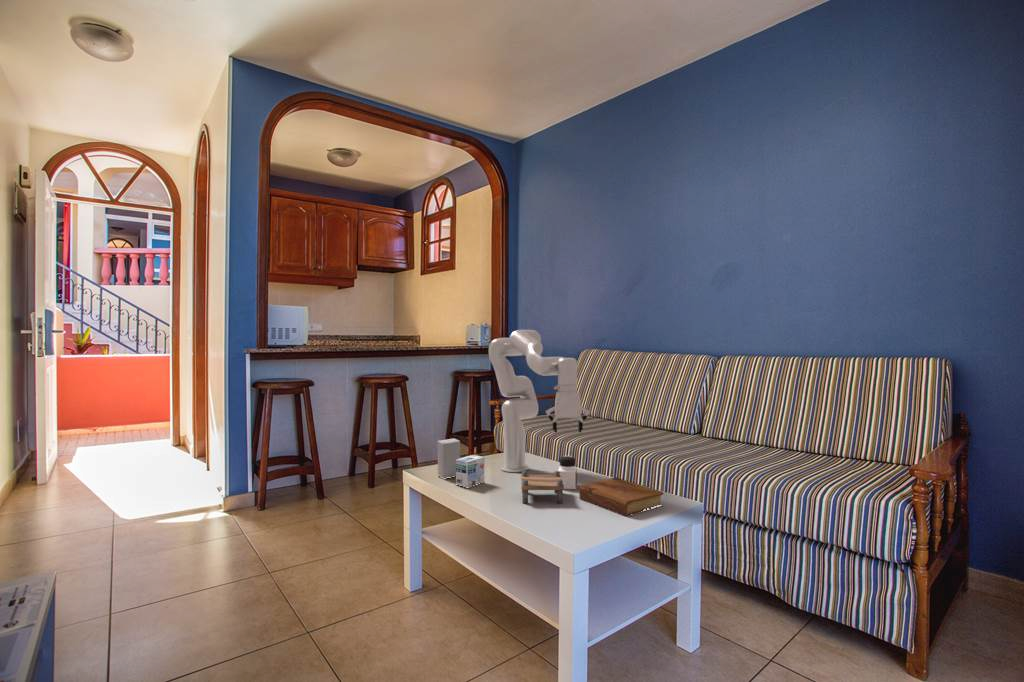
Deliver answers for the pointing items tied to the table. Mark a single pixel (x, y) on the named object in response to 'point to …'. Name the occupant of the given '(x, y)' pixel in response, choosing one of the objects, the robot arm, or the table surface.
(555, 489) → the shelf stand
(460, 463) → the light bulb box
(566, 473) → the medicine bottle
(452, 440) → the skincare box
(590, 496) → the diary
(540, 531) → the table surface
